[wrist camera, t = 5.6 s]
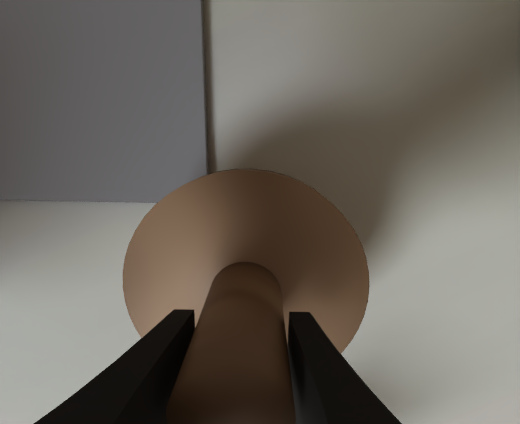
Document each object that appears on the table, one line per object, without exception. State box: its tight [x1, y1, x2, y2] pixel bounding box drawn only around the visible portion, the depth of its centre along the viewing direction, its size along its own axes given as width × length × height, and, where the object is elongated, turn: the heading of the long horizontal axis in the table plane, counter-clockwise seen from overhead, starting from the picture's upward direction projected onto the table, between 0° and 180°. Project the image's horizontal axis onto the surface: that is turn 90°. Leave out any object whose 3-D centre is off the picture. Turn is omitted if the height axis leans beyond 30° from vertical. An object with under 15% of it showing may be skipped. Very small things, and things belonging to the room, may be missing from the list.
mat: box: [0, 0, 209, 203], centre depth 11 cm, size 14×14×1 cm
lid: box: [123, 169, 369, 424], centre depth 8 cm, size 9×9×5 cm
